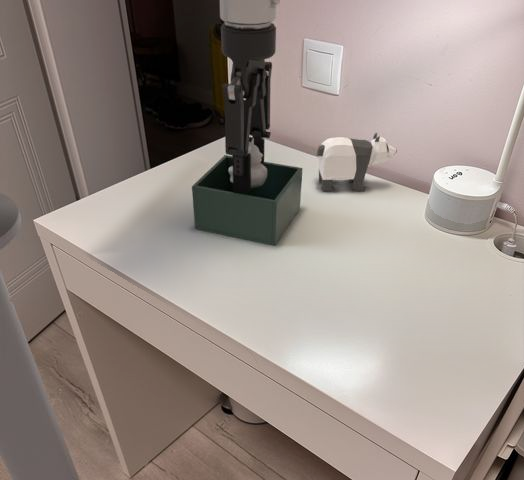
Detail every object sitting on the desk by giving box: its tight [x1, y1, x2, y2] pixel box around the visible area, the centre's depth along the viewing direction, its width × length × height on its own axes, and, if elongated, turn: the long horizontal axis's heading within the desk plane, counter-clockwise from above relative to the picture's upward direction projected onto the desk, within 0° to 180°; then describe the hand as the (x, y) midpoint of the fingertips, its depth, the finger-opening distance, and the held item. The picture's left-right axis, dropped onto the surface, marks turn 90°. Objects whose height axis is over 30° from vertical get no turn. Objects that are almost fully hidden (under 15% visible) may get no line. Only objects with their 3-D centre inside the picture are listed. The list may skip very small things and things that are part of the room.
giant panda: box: [316, 132, 398, 192], centre depth 99 cm, size 15×6×10 cm, turn 95°
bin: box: [191, 154, 304, 246], centre depth 89 cm, size 14×13×8 cm
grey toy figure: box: [229, 138, 267, 188], centre depth 85 cm, size 5×7×8 cm
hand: (249, 184), depth 88 cm, fingers closed on grey toy figure, 5 cm apart
